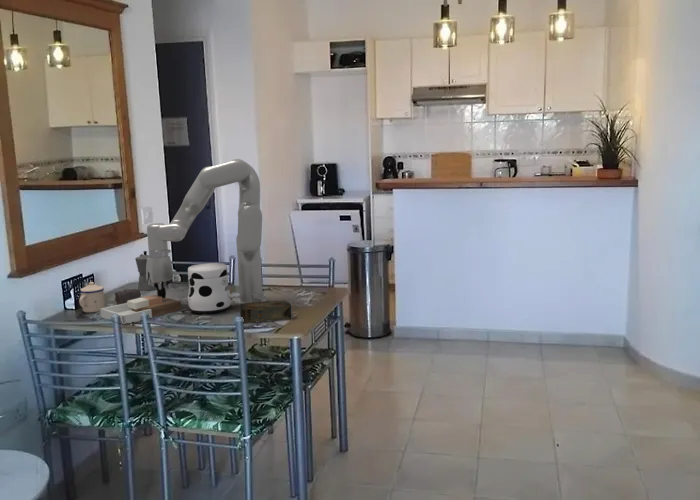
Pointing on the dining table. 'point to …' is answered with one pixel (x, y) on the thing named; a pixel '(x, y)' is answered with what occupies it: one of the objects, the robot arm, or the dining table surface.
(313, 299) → the dining table surface
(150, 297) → the terracotta tile
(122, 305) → the tray
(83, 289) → the teacup with lid
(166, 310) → the brown square slab
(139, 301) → the cream tile
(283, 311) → the beverage carton
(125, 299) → the perforated stone tool
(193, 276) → the milk container
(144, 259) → the coffeepot
